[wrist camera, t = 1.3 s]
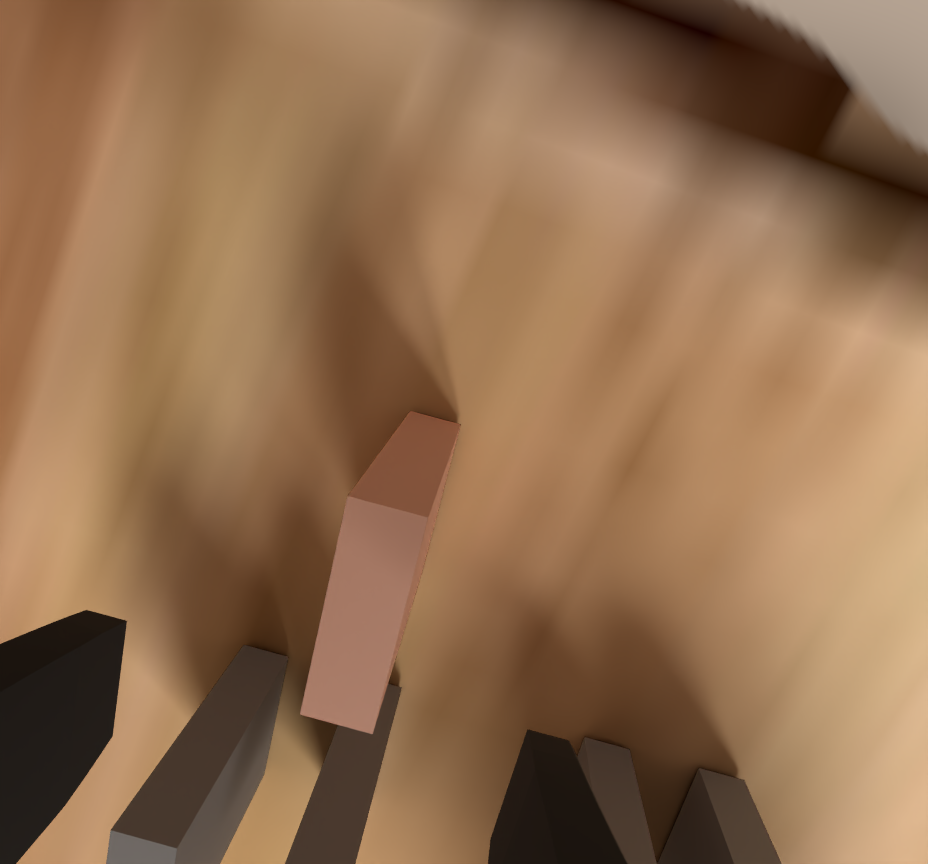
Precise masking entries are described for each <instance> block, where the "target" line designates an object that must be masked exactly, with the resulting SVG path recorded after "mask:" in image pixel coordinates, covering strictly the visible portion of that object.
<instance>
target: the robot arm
mask: <svg viewBox="0 0 928 864" xmlns="http://www.w3.org/2000/svg"><path fill="white" fill-rule="evenodd" d="M126 623H127V621H125V620H121V619H118V618H114V617H110V616H107V615H103V614H99V613H96V612H92V611H88V610H85V611H82V612H80V613H77V614H74V615H71V616H69V617H66V618H63V619H61V620H58V621H56V622H53V623H51V624H48V625H46V626H43V627H41V628H38V629H36V630H33V631H31V632H28V633H26V634H24V635H21V636H19V637H16V638H14V639H11V640H9V641H6V642H4V643H2V644H0V864H16V863H17V862H18V861H19V859H20V858H21V857H22V856H23V855H24V854H25V852H26V851H27V850H28V849H29V848H30V846H31V845H32V844H33V843H34V842H35V841H36V839H37V838H38V837H39V836H40V835H41V833H42V832H43V831H44V830H45V829H46V828H47V826H48V825H49V824H50V823H51V822H52V820H53V819H54V818H55V817H56V816H57V814H58V813H59V812H60V811H61V810H62V808H63V807H64V806H65V805H66V803H67V802H68V800H69V799H70V798H71V796H72V795H73V793H74V792H75V791H76V789H77V788H78V786H79V785H80V783H81V782H82V781H83V779H84V778H85V776H86V775H87V773H88V772H89V770H90V769H91V768H92V766H93V765H94V763H95V762H96V760H97V759H98V757H99V756H100V754H101V753H102V751H103V750H104V748H105V747H106V745H107V744H108V742H109V741H110V739H111V738H112V736H113V728H114V720H115V712H116V704H117V696H118V688H119V680H120V672H121V664H122V656H123V648H124V640H125V631H126ZM488 864H628V863H627V861H626V859H625V857H624V855H623V853H622V851H621V849H620V847H619V845H618V843H617V841H616V839H615V837H614V835H613V833H612V831H611V829H610V827H609V825H608V822H607V820H606V818H605V816H604V814H603V812H602V810H601V808H600V806H599V804H598V801H597V799H596V797H595V795H594V793H593V791H592V789H591V786H590V784H589V782H588V780H587V778H586V775H585V773H584V771H583V769H582V767H581V764H580V762H579V760H578V758H577V756H576V754H575V751H574V749H573V747H572V746H571V744H570V742H569V741H568V740H565V739H561V738H557V737H553V736H550V735H546V734H542V733H539V732H535V731H531V730H528V729H527V732H526V735H525V738H524V741H523V744H522V747H521V750H520V753H519V756H518V759H517V762H516V765H515V768H514V771H513V774H512V777H511V780H510V783H509V786H508V789H507V792H506V795H505V798H504V801H503V804H502V807H501V810H500V813H499V816H498V819H497V822H496V825H495V828H494V831H493V834H492V837H491V840H490V850H489V860H488Z"/></svg>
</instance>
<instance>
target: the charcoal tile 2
mask: <svg viewBox="0 0 928 864" xmlns="http://www.w3.org/2000/svg"><path fill="white" fill-rule="evenodd" d="M401 688H402V687H398V686H394V685H391V684H388V685H387V689H386V692H385V695H384V699H383V702H382V705H381V708H380V712H379V715H378V718H377V721H376V725H375V728H374V731H373V734H370V733H366V732H362V731H359V730H355V729H351V728H348V727H344V726H340V725H338V726H337V729H336V732H335V734H334V737H333V739H332V742H331V745H330V747H329V750H328V753H327V755H326V758H325V760H324V763H323V766H322V768H321V771H320V774H319V776H318V779H317V781H316V784H315V787H314V789H313V792H312V794H311V797H310V800H309V802H308V805H307V808H306V810H305V813H304V815H303V818H302V821H301V823H300V826H299V829H298V831H297V834H296V836H295V839H294V842H293V844H292V847H291V849H290V852H289V855H288V857H287V860H286V863H285V864H355V863H356V859H357V855H358V851H359V847H360V844H361V840H362V836H363V832H364V828H365V825H366V821H367V817H368V813H369V810H370V806H371V802H372V798H373V794H374V791H375V787H376V783H377V779H378V775H379V772H380V768H381V764H382V760H383V757H384V753H385V749H386V745H387V741H388V738H389V734H390V730H391V726H392V722H393V719H394V715H395V711H396V707H397V704H398V700H399V696H400V692H401Z"/></svg>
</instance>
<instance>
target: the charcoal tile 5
mask: <svg viewBox="0 0 928 864" xmlns="http://www.w3.org/2000/svg"><path fill="white" fill-rule="evenodd" d="M658 864H781V862H780V859H779V857H778V855H777V853H776V850H775V848H774V846H773V844H772V841H771V839H770V837H769V835H768V833H767V830H766V828H765V826H764V824H763V821H762V819H761V817H760V815H759V812H758V810H757V808H756V806H755V803H754V801H753V799H752V797H751V795H750V792H749V790H748V788H747V786H746V783H745V781H744V780H741V779H738V778H734V777H730V776H727V775H723V774H719V773H715V772H712V771H708V770H704V769H701V768H699V769H698V771H697V773H696V776H695V778H694V780H693V783H692V785H691V787H690V790H689V792H688V794H687V797H686V799H685V801H684V803H683V806H682V808H681V810H680V813H679V815H678V817H677V820H676V822H675V824H674V827H673V829H672V831H671V834H670V836H669V838H668V840H667V843H666V845H665V847H664V850H663V852H662V854H661V857H660V859H659V861H658Z"/></svg>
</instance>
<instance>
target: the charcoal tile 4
mask: <svg viewBox="0 0 928 864" xmlns="http://www.w3.org/2000/svg"><path fill="white" fill-rule="evenodd" d="M577 758H578V760H579V762H580V764H581V767H582V769H583V771H584V773H585V775H586V778H587V780H588V782H589V784H590V786H591V789H592V791H593V793H594V795H595V797H596V799H597V801H598V804H599V806H600V808H601V810H602V812H603V814H604V816H605V818H606V820H607V822H608V825H609V827H610V829H611V831H612V833H613V835H614V837H615V839H616V841H617V843H618V845H619V847H620V849H621V851H622V853H623V855H624V857H625V859H626V861H627V863H628V864H657V863H656V858H655V854H654V850H653V846H652V841H651V837H650V833H649V829H648V825H647V820H646V816H645V812H644V808H643V804H642V799H641V795H640V791H639V787H638V783H637V778H636V774H635V770H634V766H633V762H632V757H631V753H630V749H627V748H623V747H619V746H616V745H612V744H608V743H604V742H601V741H597V740H593V739H590V738H586V737H584V740H583V742H582V745H581V748H580V751H579V753H578V756H577Z"/></svg>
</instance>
